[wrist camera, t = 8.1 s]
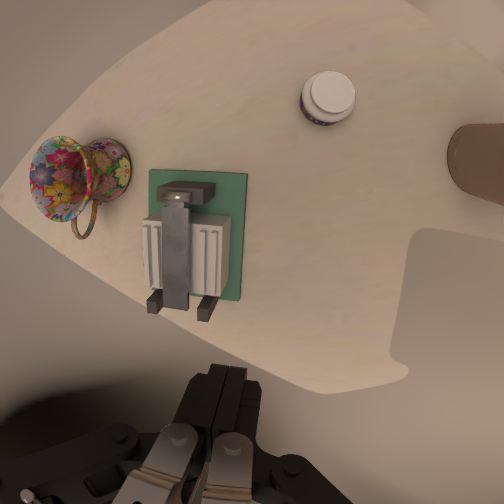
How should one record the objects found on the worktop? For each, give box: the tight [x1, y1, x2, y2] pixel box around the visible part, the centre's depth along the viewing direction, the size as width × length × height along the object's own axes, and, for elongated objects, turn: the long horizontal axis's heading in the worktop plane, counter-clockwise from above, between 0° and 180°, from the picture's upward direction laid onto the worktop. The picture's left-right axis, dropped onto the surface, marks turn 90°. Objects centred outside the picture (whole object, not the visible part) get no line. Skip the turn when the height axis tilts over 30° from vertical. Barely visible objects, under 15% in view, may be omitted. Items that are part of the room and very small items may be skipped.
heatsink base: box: [142, 169, 248, 322], centre depth 36 cm, size 12×16×8 cm
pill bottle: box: [300, 71, 355, 126], centre depth 29 cm, size 5×5×9 cm
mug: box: [30, 136, 130, 240], centre depth 34 cm, size 12×9×11 cm
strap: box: [161, 191, 191, 311], centre depth 32 cm, size 3×12×1 cm, turn 176°
